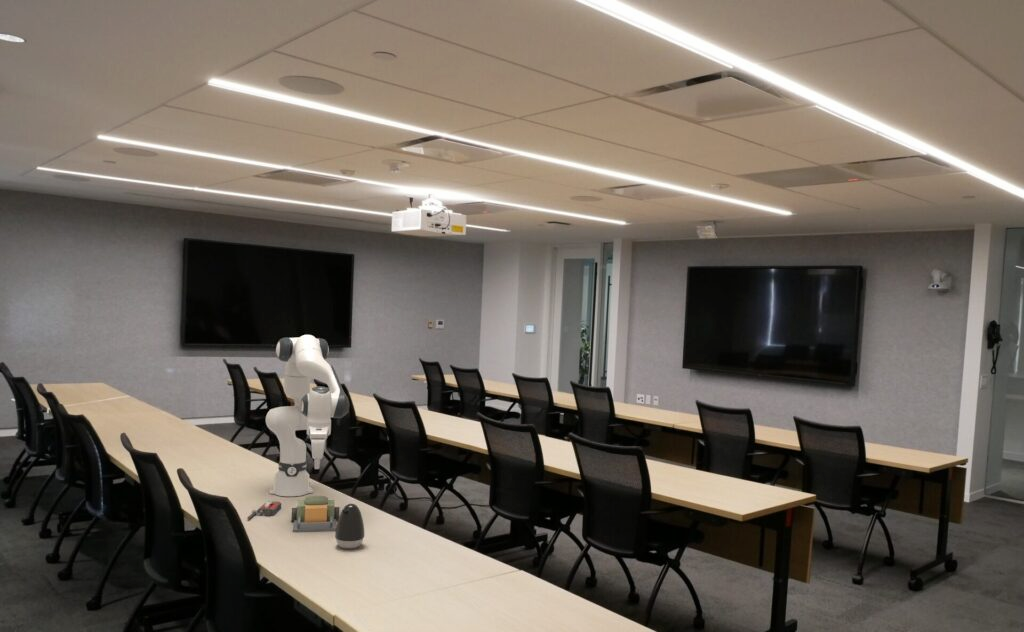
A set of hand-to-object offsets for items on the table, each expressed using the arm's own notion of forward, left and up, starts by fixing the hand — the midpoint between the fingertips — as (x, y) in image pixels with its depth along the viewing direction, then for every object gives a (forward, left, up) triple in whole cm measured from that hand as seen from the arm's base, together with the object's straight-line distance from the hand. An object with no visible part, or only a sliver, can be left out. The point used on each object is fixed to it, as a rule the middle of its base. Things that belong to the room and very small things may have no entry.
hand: (317, 465), depth 276 cm
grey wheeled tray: (-3, 0, -23) cm, 23 cm away
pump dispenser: (+25, +12, -24) cm, 36 cm away
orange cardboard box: (+1, 0, -22) cm, 22 cm away
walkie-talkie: (-19, -19, -24) cm, 36 cm away
